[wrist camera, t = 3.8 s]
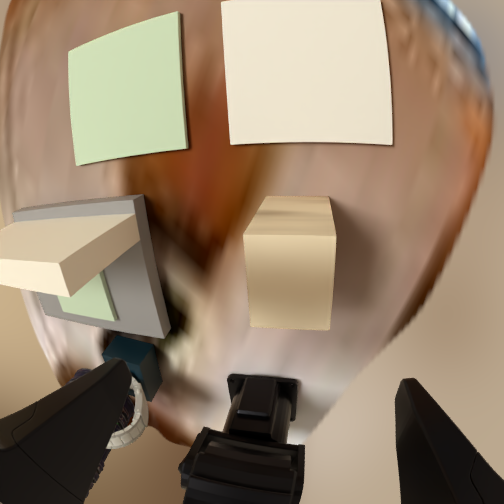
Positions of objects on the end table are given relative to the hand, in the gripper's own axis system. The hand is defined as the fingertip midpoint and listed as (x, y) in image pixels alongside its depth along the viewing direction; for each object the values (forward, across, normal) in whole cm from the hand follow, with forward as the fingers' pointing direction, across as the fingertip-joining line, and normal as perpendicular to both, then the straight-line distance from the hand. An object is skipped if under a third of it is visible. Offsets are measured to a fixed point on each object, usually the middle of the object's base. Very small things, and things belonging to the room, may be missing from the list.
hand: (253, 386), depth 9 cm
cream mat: (+13, -2, -11) cm, 17 cm away
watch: (+13, +16, +14) cm, 25 cm away
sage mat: (+13, +11, -11) cm, 21 cm away
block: (+13, -1, 0) cm, 13 cm away
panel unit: (+13, +18, +3) cm, 23 cm away
